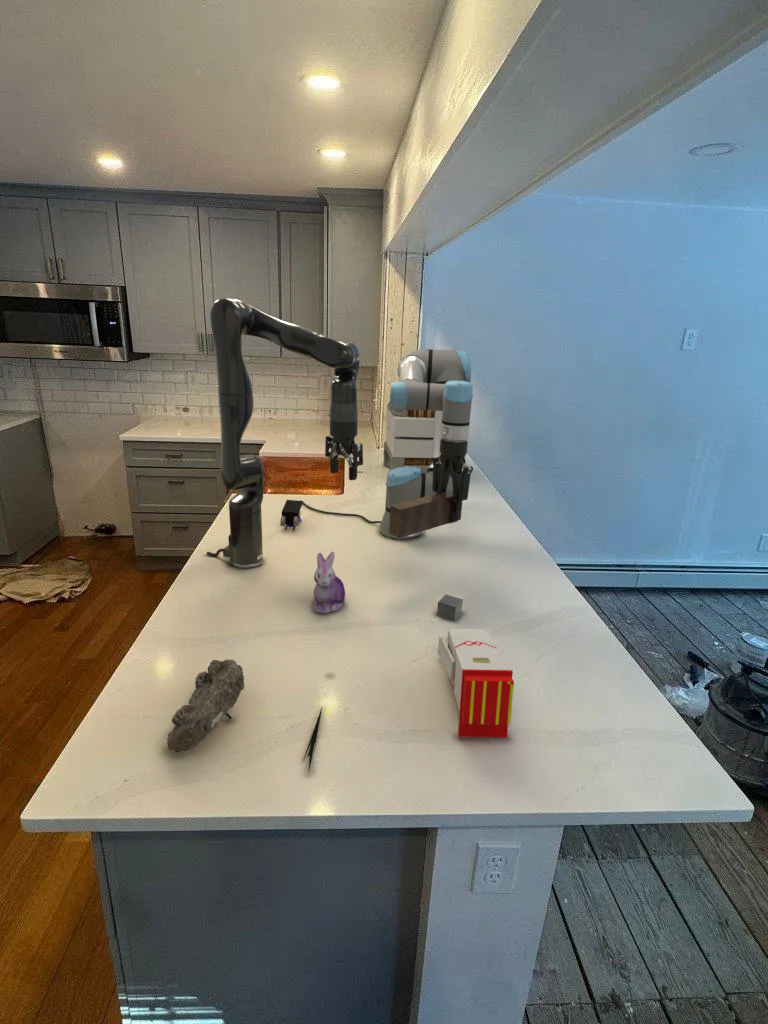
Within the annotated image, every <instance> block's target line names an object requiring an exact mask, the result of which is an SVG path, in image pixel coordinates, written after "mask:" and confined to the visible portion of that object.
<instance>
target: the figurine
mask: <svg viewBox="0 0 768 1024" xmlns="http://www.w3.org/2000/svg"><path fill="white" fill-rule="evenodd" d="M335 554H336V553H335V552H334V551H331V552H330V553H329V554H328V555H327V556H326V558H325V557H324V555H323V554H322V553H321V552H318V553H317V555H316V563H317V565H316V566H317V568H316V569H315V571H314V575H313V580H314V582H315V585H314V588H313V598H314V601H313V606H314V612H316V613H322V614H329V613H332V612H336V611H338V610H340V609H341V608H342V607H344V604H345V598H346V589H345V585H344V583H343V581H342V580H341V578H340V577H339V576H336V572H335V569H334V568H333V564H334V561H335Z"/></svg>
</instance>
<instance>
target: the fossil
mask: <svg viewBox="0 0 768 1024" xmlns="http://www.w3.org/2000/svg"><path fill="white" fill-rule="evenodd" d="M243 670H244V669H243V667H242V665H240V664H237V662H236V661H235V660H234V659H232V658H231V659H227V658H226V659H224V660H223V661H222V660H217V659H212V660H211V661H210V663H209V665H208V666H207V671H201V672H199V673H198V674H197V675H196V676H195V680H194V684H195V685H194V687H195V689H194V690H193V693H192V694H191V697H190V698H189V700H188V704H184V705H182V706H181V707H180V709H177V710H176V711H175V713H174V715H173V716H172V718H171V723H172V724H173V727H172V730H171V731H170V732H168V734H167V738H166V741H167V742H166V745H167V749H168V750H169V751H173V752H174V753H176V754H178V753H182V752H188V751H189V752H192V751H193V750H195V748H196V747H197V746H199V744H200V743H201V742H203V741H204V740H205V739H206V738H207V737H208V736H209V735H210V734H211V733H212V732H214V730H215V729H217V727H218V726H219V724H220V722H221V721H222V720H223V719H224V718H225V716H226V717H227V719H229V720H233V717H232V715H230V714H229V710H230V709H231V708H234V706H235V704H236V703H237V702H238V699H239V697H240V695H241V693H242V691H243V690H245V689H244V688H245V675H244V671H243Z"/></svg>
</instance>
